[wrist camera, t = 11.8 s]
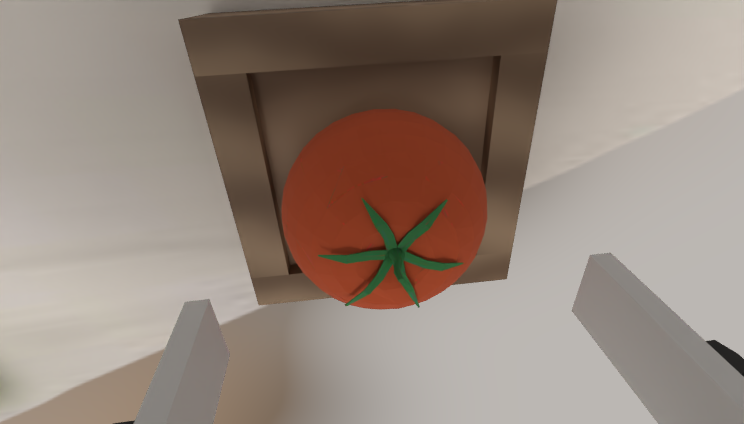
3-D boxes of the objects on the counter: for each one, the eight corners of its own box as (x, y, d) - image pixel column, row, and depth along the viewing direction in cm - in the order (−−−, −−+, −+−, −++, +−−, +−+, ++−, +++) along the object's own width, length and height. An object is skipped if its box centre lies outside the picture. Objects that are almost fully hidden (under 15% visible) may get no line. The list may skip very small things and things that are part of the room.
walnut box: (208, 13, 21) (178, 19, 17) (514, -5, 22) (557, -3, 18) (268, 261, 31) (258, 305, 26) (482, 239, 32) (506, 279, 28)
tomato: (488, 158, 23) (580, 256, 15) (383, 263, 27) (408, 391, 18) (362, 46, 19) (388, 92, 11) (257, 187, 23) (214, 306, 14)
